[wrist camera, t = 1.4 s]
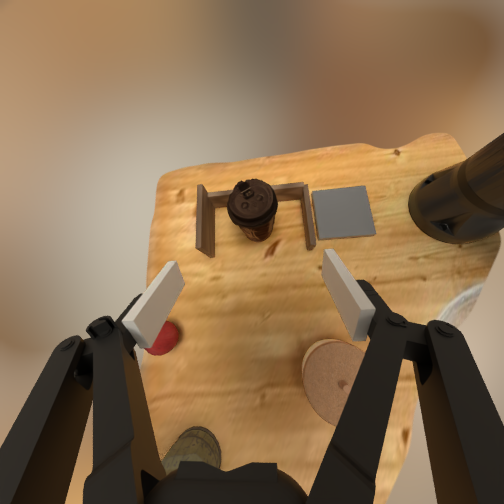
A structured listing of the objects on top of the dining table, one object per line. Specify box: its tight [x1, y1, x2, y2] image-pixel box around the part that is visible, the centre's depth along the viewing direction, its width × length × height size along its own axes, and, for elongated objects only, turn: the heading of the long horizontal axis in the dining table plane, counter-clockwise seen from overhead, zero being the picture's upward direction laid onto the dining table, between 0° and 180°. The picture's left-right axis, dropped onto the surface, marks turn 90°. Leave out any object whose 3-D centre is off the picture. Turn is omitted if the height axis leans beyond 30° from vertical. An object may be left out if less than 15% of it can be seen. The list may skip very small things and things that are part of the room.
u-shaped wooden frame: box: [196, 182, 316, 258], centre depth 38 cm, size 22×13×8 cm, turn 93°
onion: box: [144, 321, 179, 355], centre depth 34 cm, size 6×6×8 cm
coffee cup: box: [227, 179, 278, 242], centre depth 35 cm, size 9×8×13 cm
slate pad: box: [311, 186, 376, 240], centre depth 39 cm, size 11×11×1 cm
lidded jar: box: [302, 339, 365, 427], centre depth 29 cm, size 11×11×9 cm
